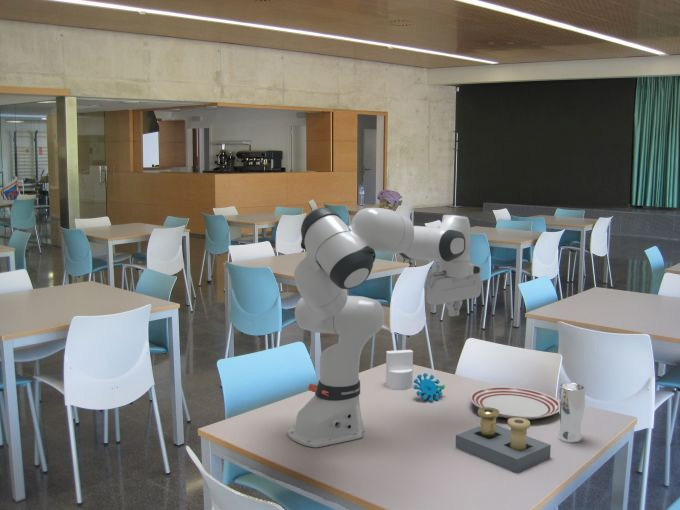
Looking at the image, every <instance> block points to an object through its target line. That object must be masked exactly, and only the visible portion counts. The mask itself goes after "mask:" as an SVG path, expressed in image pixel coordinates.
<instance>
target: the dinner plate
mask: <svg viewBox="0 0 680 510" xmlns="http://www.w3.org/2000/svg"><path fill="white" fill-rule="evenodd" d="M469 400H470V402H471V403H472V404H473V405H474V406H475V407H477V408H478V409H479V408H483V407H490V408H495V409H497V410H499V416H498V418H499V417H500V418H503V419H507V420H508V419H510V418H524V419H527V420H529V421H530V420H531V421H532V420H536V419H543V418H546V417H550V416H553V415H555V414H557V413H559V407H558V399H556V398H555V397H553V396H551V395H549V394H546V393H544V392H540V391H538V390H534V389H533V390H532V389H530V388H523V387H515V386H490V387H489V386H488V387H484V388H480V389H477V390H474V391H472V393H471V394H470V396H469Z"/></svg>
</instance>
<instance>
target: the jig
mask: <svg viewBox="0 0 680 510" xmlns="http://www.w3.org/2000/svg"><path fill="white" fill-rule="evenodd" d="M507 426H508V427H509V429H508V428H506V427H503V426H500V425H497V424H496V432H495V437H494V438H492V439H486V438H484V437H481V436H480V425H479V426H476V427H474V428H470V429H467V430H465V431H463V432H459V433H457V434H455V448H456V449H459V450H461V451H464V452H465V453H469V454H471V455H473V456H476V457H478V458H480V459H483V460H486V461H488V462H490V463H492V464H495V465H497V466H499V467H502V468H504V469H507V470H510V471H512V472H514V473H516V474H517V473H519V472H522V471H523V470H524V471H525V470H526V469H528V468H530V467H533V466H535V465H537V464H539V463H542V462H544V461H546V460H548V459H550V458H551V447H552V446H551V444H550V443H546V442H544V441H541V440H540V439H535V438H533V437H532V436H531V437H530V436H528V435H527V434H528V433H527V431H528V429H530V427H531V421H530V420H527V419H524V418H510V419H508V418H507Z"/></svg>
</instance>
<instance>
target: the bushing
mask: <svg viewBox="0 0 680 510" xmlns="http://www.w3.org/2000/svg"><path fill="white" fill-rule="evenodd" d="M477 415H478V416H479V417H480V425H479V426H480V436H481V437H484V438H486V439H492V438H494V437H495V432H496V425H497V418H499V410H497V409H495V408H490V407H483V408H478V409H477Z"/></svg>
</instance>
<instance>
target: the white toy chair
mask: <svg viewBox="0 0 680 510" xmlns="http://www.w3.org/2000/svg"><path fill="white" fill-rule="evenodd" d="M385 354H386V355H385V365H386V366H385V386H386V387H387V388H388V389H391V390H395V391H396V390H397V391H405V390H409V389H411V388H413V383H414V381H413V377H414V376H413V371H414V367H413V366H414V365H413V364H414V359H413V358H414V350H412V349H399V350H398V349H397V350H386V353H385Z"/></svg>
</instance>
